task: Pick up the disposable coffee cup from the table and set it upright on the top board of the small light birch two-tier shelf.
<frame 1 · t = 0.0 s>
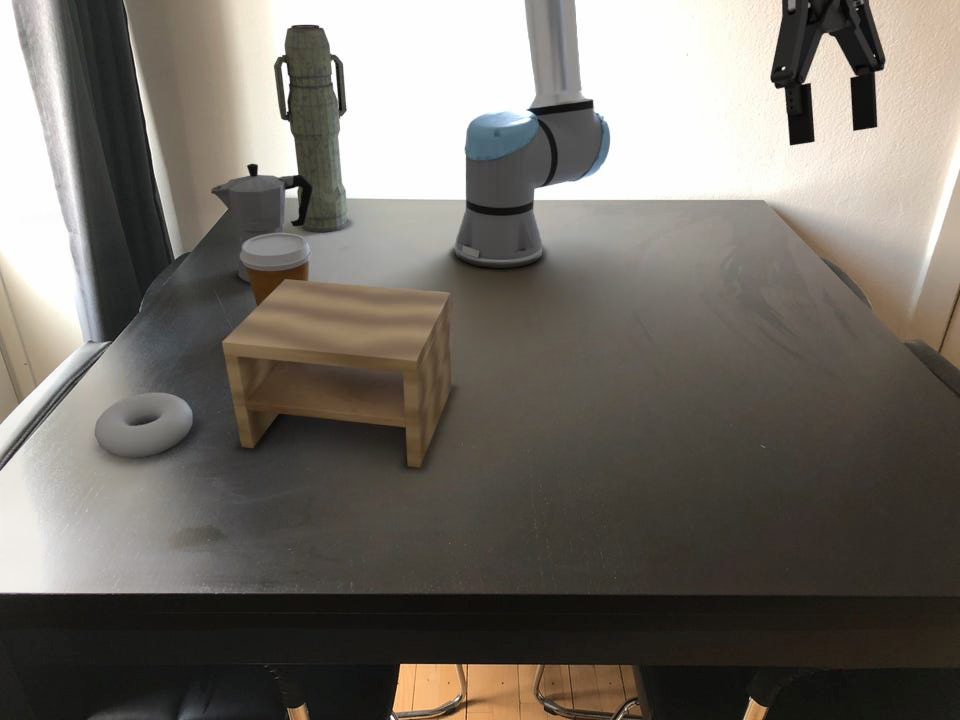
hand: (834, 136, 90), 28 cm above the table, tool tilted 20°, fingers open, 13 cm apart
shelf: (352, 416, 86), on the table
thermos: (325, 225, 143), on the table
disposable coffee cup: (285, 324, 106), on the table
donut: (148, 437, 82), on the table
coffeepot: (274, 273, 122), on the table
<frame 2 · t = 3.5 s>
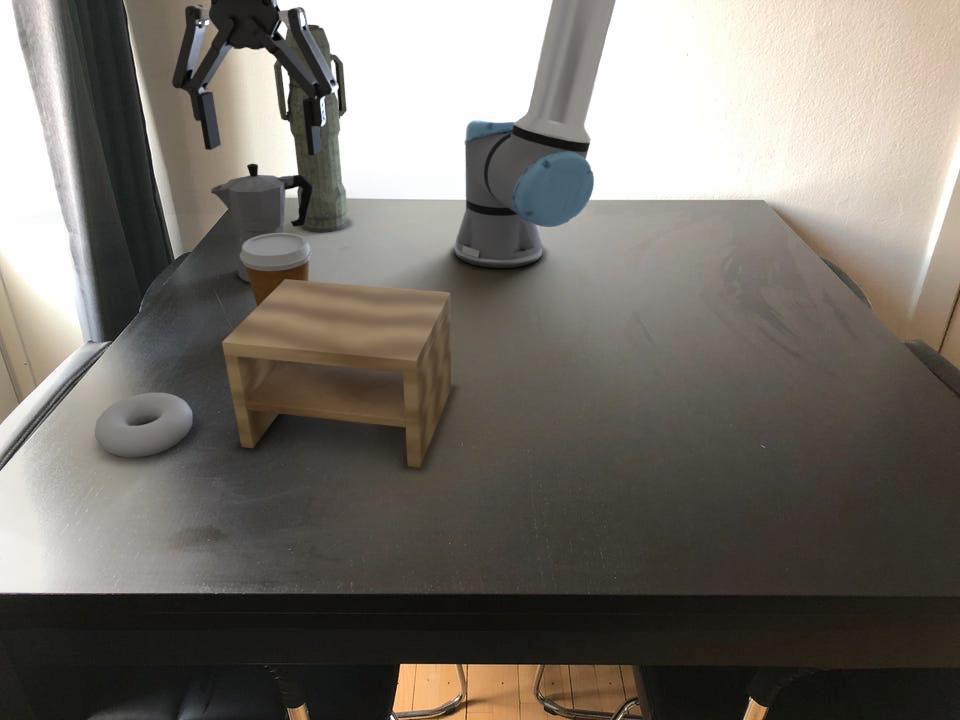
hand: (263, 150, 94), 25 cm above the table, tool pointing down, fingers open, 13 cm apart
nothing on the table moved.
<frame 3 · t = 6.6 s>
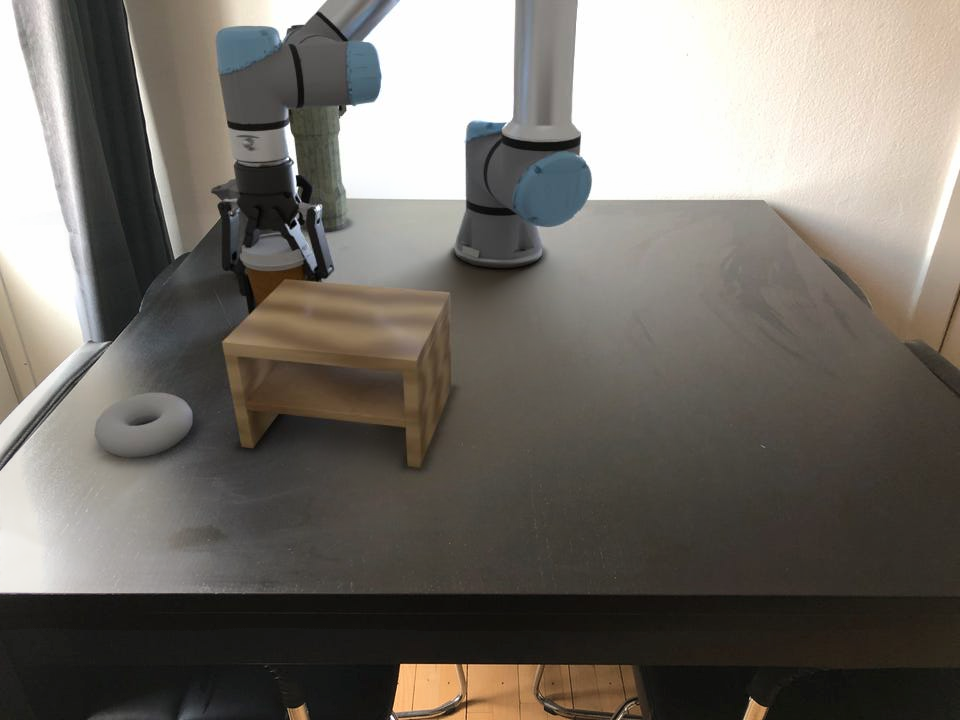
hand: (284, 318, 106), 1 cm above the table, tool pointing down, fingers closed on disposable coffee cup, 8 cm apart
disposable coffee cup: (285, 324, 106), on the table, touching gripper
everything else where it was.
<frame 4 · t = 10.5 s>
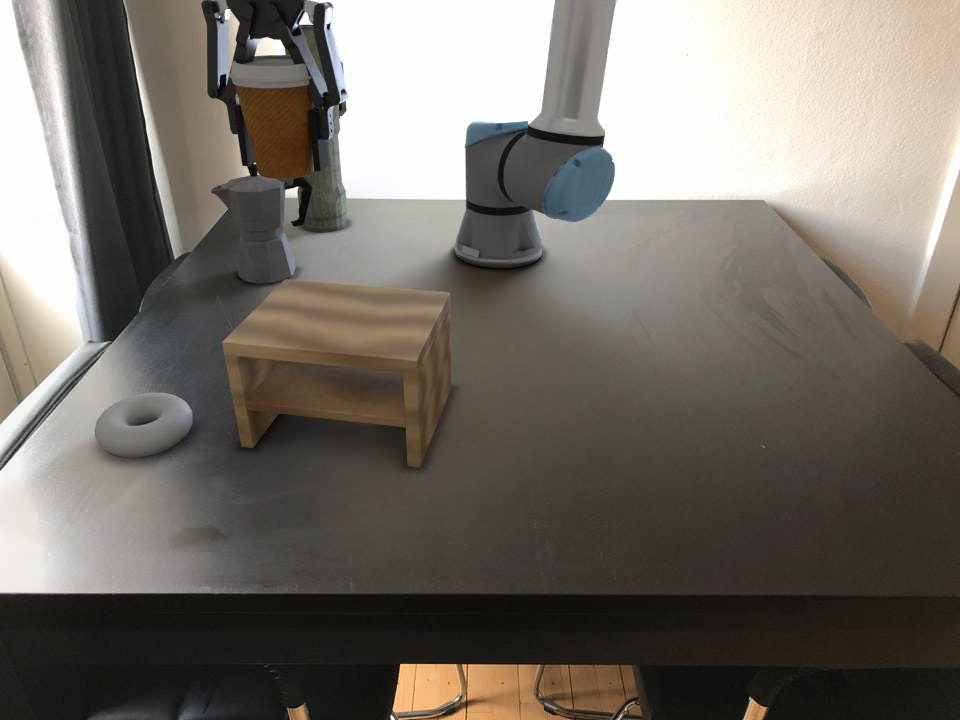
hand: (285, 165, 85), 25 cm above the table, tool pointing down, fingers closed on disposable coffee cup, 8 cm apart
disposable coffee cup: (286, 173, 85), point 25 cm above the table, touching gripper
everything else where it was.
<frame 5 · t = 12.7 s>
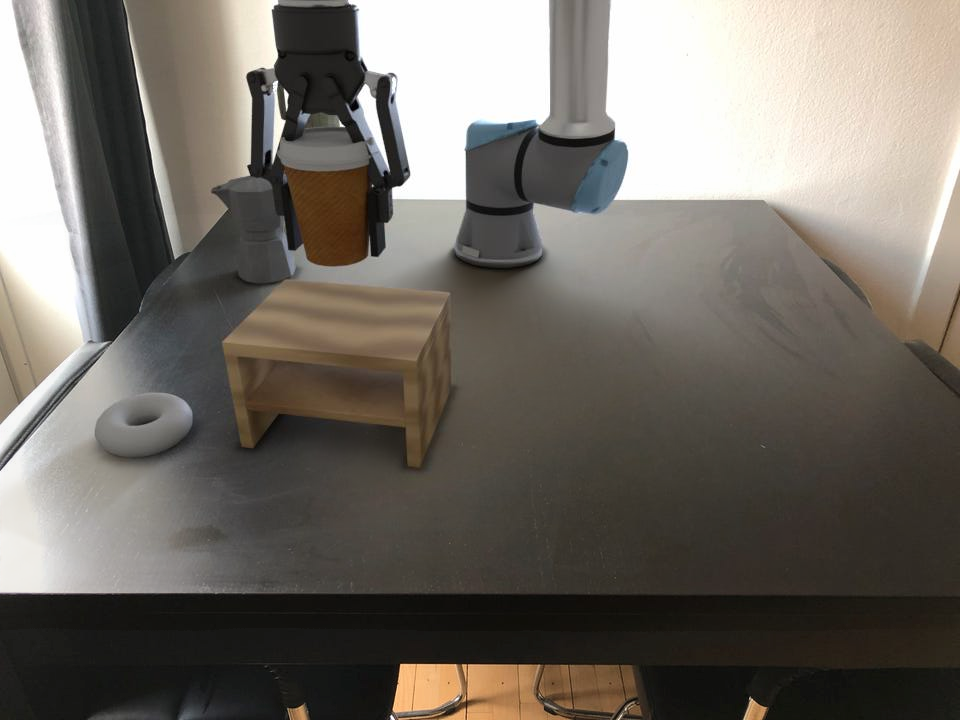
hand: (337, 248, 76), 21 cm above the table, tool pointing down, fingers closed on disposable coffee cup, 8 cm apart
disposable coffee cup: (337, 257, 76), point 20 cm above the table, touching gripper
everything else where it was.
when the fingers open (14 cm above the table, at t = 14.7 s): disposable coffee cup stays where it is, resting on shelf.
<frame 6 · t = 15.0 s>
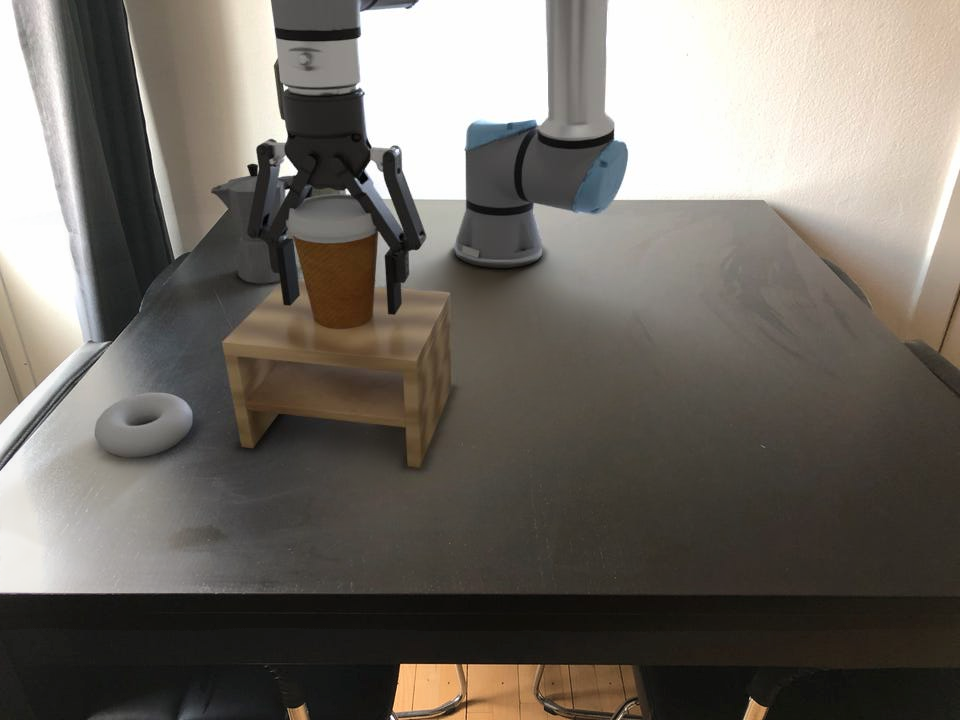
hand: (342, 304, 79), 14 cm above the table, tool pointing down, fingers open, 11 cm apart
disposable coffee cup: (343, 317, 79), point 13 cm above the table, touching shelf
everything else where it was.
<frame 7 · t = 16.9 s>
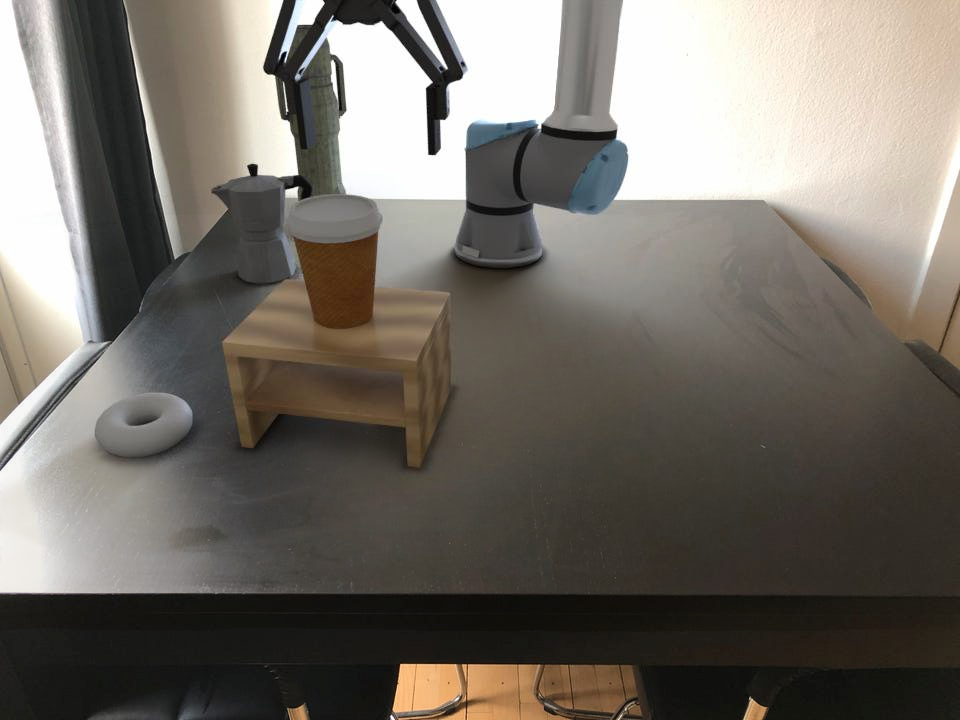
hand: (370, 149, 77), 29 cm above the table, tool pointing down, fingers open, 13 cm apart
nothing on the table moved.
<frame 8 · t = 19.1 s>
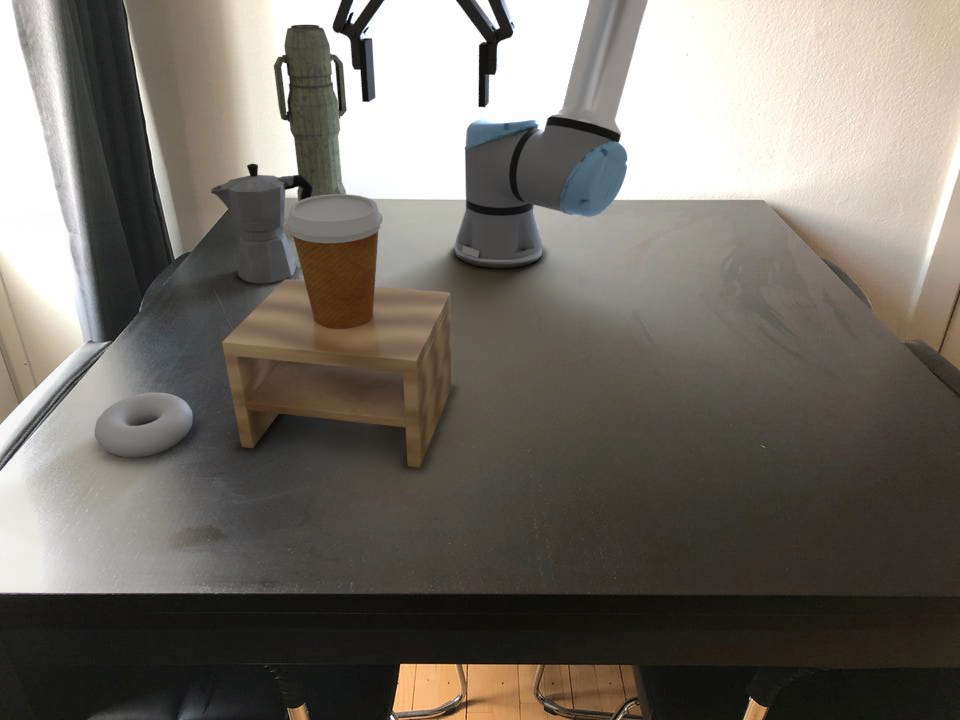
hand: (425, 102, 86), 32 cm above the table, tool pointing down, fingers open, 13 cm apart
nothing on the table moved.
at the end: disposable coffee cup inside the target area on the shelf (0.0 cm from its centre), point 12.8 cm above the shelf's base; disposable coffee cup tilted 0°; the gripper is holding nothing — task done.
